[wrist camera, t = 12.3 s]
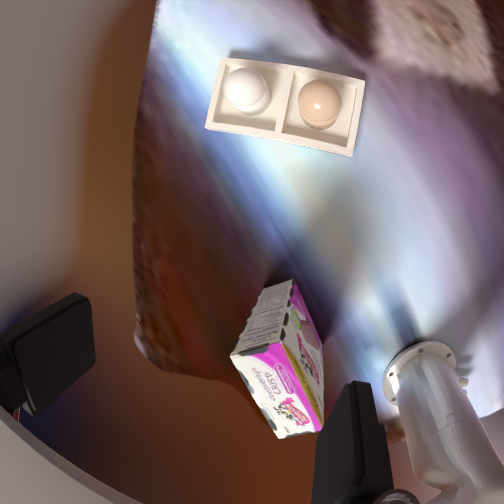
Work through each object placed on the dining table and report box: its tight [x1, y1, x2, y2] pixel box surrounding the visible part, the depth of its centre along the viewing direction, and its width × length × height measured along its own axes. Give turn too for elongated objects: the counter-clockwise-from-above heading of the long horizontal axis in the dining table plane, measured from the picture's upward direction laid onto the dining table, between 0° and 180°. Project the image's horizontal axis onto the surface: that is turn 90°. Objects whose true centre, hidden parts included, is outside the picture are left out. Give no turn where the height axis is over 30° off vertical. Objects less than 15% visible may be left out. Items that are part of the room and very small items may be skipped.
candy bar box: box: [230, 278, 324, 439], centre depth 31 cm, size 11×5×16 cm, turn 25°
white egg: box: [223, 68, 271, 116], centre depth 29 cm, size 5×5×7 cm
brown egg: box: [298, 80, 342, 130], centre depth 28 cm, size 5×5×7 cm
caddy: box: [205, 58, 365, 157], centre depth 31 cm, size 18×10×2 cm, turn 79°
